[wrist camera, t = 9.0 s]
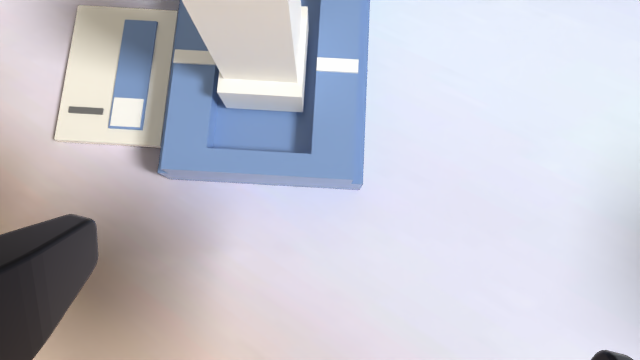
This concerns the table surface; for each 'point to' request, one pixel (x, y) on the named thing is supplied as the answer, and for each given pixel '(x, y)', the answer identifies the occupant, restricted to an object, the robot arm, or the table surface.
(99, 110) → the label tile
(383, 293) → the table surface
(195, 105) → the blue rectangular tray
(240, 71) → the switch tab
